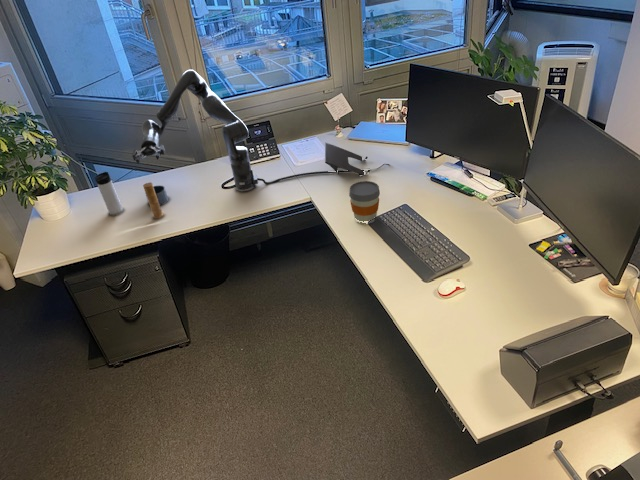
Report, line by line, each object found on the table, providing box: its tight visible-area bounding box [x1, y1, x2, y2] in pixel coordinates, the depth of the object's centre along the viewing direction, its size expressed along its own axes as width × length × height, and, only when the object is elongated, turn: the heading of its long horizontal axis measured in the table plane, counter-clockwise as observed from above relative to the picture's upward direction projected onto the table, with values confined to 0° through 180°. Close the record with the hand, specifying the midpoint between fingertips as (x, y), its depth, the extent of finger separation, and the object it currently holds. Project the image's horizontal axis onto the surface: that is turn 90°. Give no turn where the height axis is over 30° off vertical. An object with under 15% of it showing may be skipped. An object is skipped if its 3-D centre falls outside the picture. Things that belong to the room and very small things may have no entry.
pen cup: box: [147, 185, 169, 206], centre depth 225 cm, size 9×9×6 cm
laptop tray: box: [324, 142, 371, 176], centre depth 234 cm, size 23×23×9 cm
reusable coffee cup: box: [348, 180, 381, 226], centre depth 193 cm, size 13×12×15 cm
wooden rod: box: [142, 182, 164, 219], centre depth 210 cm, size 4×4×17 cm
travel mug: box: [94, 171, 124, 216], centre depth 216 cm, size 6×7×20 cm
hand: (147, 159), depth 209 cm, fingers open, 8 cm apart
